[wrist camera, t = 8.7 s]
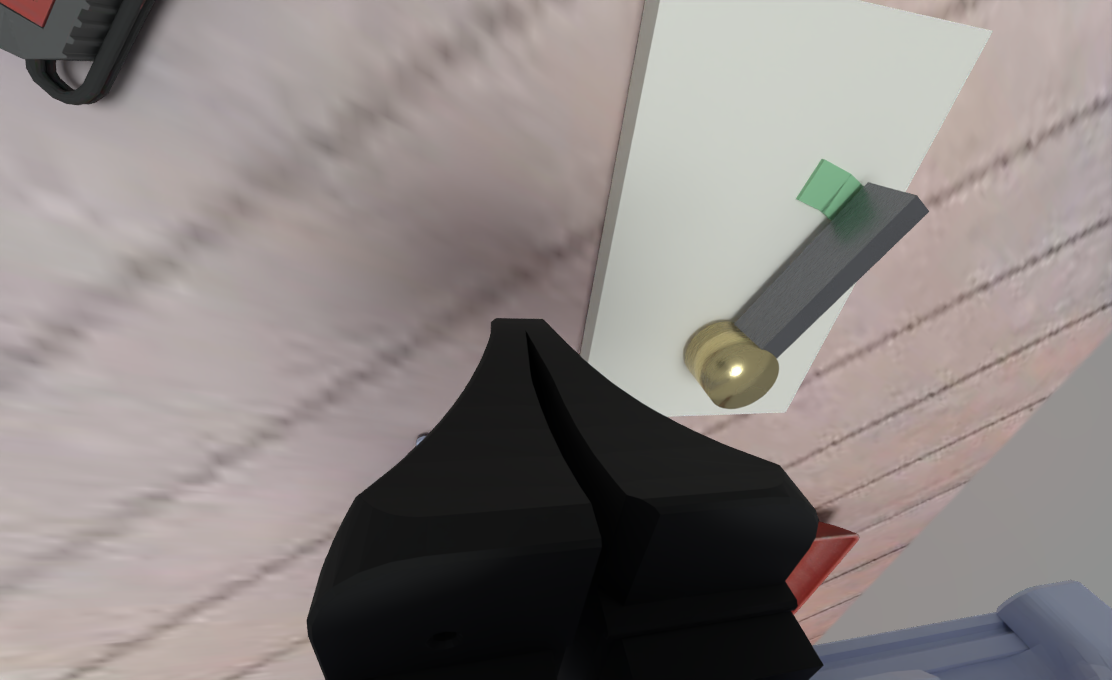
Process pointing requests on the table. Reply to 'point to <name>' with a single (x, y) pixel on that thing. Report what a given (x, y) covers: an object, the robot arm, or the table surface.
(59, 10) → the walkie-talkie
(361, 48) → the table surface
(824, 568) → the plant saucer
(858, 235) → the dial lever
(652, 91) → the dial board
